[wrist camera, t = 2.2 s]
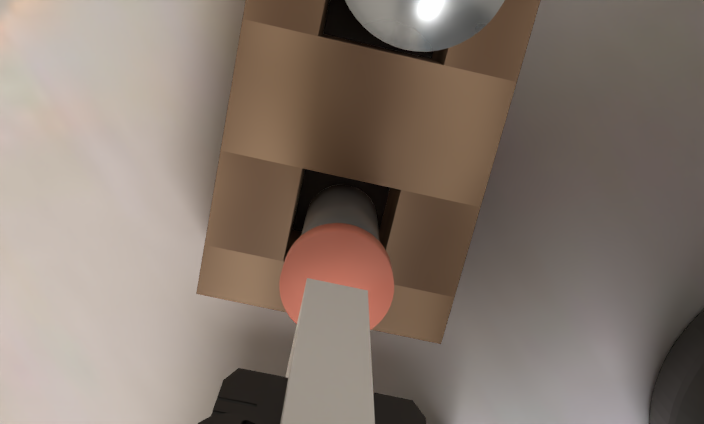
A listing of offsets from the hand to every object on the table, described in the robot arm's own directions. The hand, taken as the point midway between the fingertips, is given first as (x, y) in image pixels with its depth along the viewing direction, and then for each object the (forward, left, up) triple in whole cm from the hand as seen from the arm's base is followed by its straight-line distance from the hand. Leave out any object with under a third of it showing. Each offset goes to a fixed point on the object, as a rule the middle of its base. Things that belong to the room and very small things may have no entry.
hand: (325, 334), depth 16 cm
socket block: (0, -5, -14) cm, 14 cm away
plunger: (0, 0, -11) cm, 11 cm away
